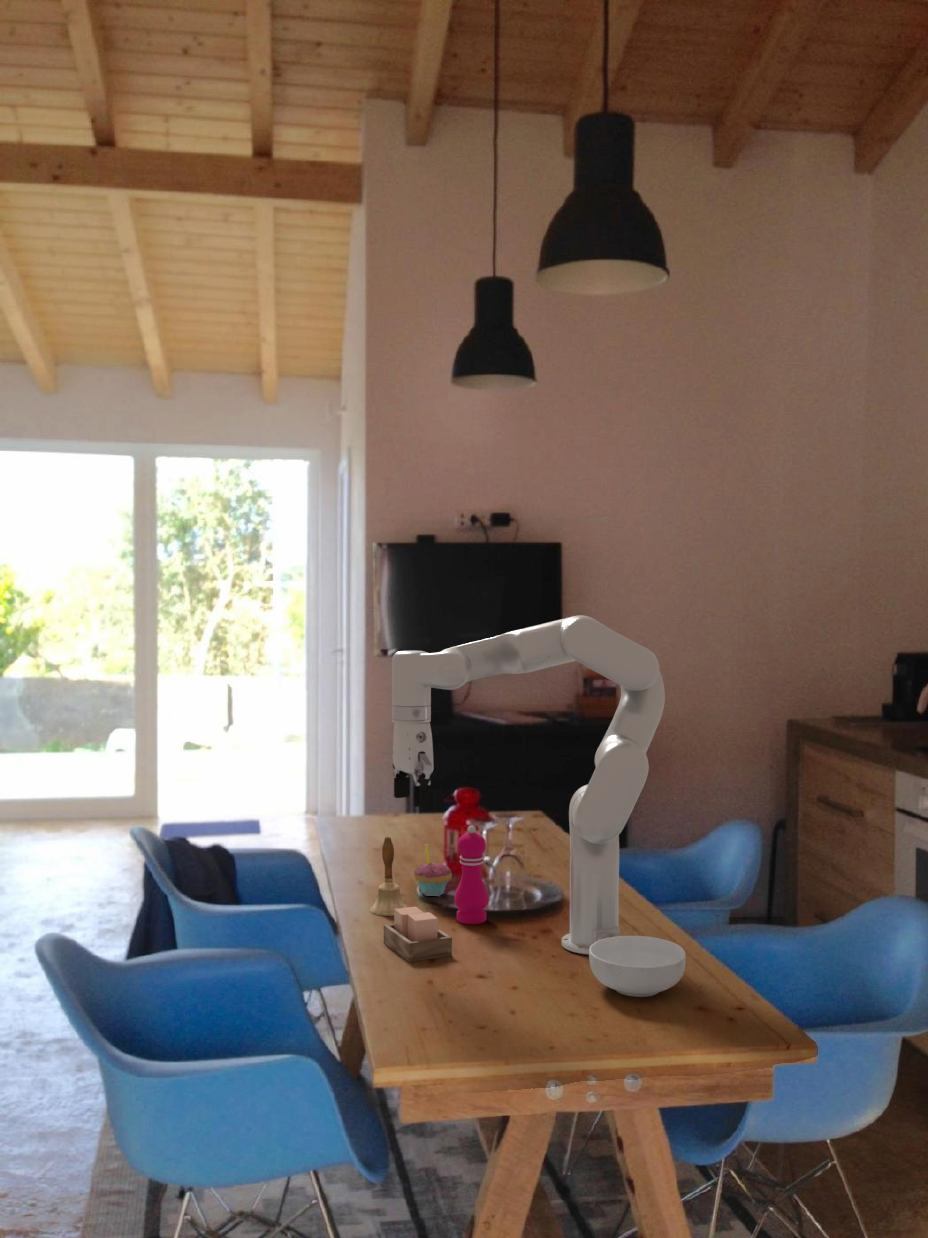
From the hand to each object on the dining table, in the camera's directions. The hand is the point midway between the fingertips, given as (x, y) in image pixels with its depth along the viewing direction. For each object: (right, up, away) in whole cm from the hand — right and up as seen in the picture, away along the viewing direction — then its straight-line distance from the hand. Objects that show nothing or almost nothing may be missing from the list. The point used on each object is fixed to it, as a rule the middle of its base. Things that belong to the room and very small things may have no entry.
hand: (411, 801), depth 234 cm
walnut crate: (+1, -28, -1) cm, 28 cm away
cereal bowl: (+41, -30, -24) cm, 55 cm away
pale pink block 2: (+2, -28, -3) cm, 28 cm away
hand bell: (-6, -28, +25) cm, 38 cm away
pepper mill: (+12, -28, +18) cm, 35 cm away
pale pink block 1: (-1, -28, +1) cm, 28 cm away
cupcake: (+3, -27, +38) cm, 47 cm away
